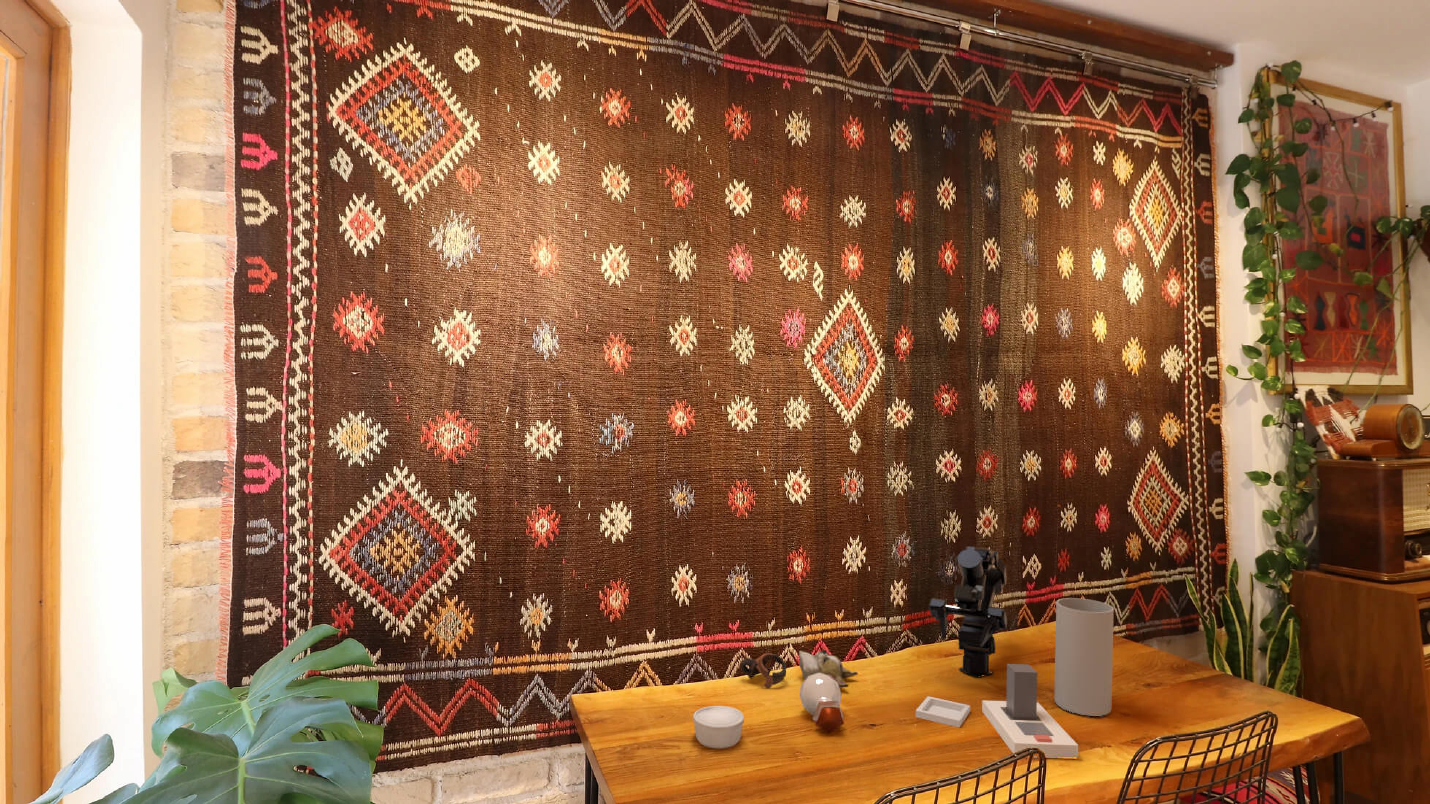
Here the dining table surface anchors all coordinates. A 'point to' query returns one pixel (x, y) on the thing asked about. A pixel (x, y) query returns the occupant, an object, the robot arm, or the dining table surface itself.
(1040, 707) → the power strip
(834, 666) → the ceramic sculpture
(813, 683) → the potion bottle
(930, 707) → the tray
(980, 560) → the robot arm
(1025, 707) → the plug
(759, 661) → the brown curved piece
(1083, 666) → the cylinder vase
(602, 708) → the dining table surface
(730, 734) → the ramekin
